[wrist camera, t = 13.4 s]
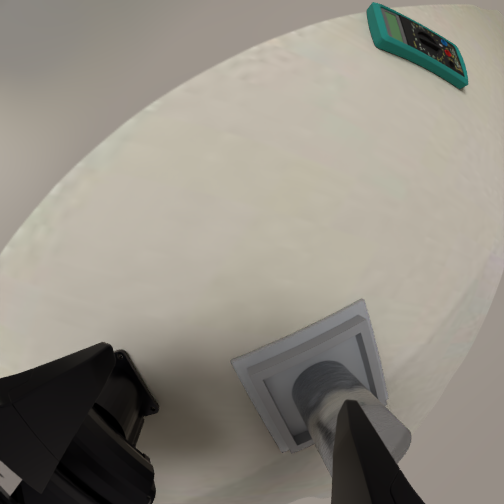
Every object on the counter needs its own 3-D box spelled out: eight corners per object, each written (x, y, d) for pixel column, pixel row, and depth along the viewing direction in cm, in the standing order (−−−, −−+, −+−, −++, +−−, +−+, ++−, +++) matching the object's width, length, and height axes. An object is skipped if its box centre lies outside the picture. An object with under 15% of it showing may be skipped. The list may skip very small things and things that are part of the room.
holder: (230, 360, 21) (232, 371, 19) (361, 298, 22) (373, 303, 20) (281, 449, 22) (285, 462, 20) (386, 396, 23) (395, 405, 21)
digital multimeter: (461, 93, 23) (474, 85, 21) (371, 48, 22) (383, 35, 19) (449, 53, 23) (460, 45, 20) (362, 10, 21) (372, -3, 18)
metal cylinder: (296, 362, 21) (345, 438, 11) (355, 357, 22) (422, 416, 12) (288, 414, 21) (323, 494, 12) (343, 407, 22) (394, 474, 12)
